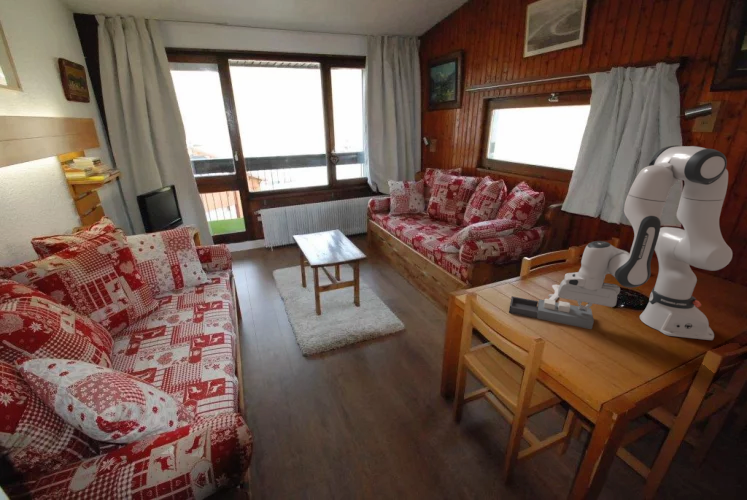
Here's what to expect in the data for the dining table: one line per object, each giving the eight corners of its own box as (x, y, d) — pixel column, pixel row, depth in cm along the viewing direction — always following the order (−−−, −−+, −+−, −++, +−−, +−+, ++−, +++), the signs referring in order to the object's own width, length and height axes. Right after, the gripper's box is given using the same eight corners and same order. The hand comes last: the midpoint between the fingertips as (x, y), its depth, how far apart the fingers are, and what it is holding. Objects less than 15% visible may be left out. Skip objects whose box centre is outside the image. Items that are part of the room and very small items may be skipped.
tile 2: (568, 307, 141) (569, 302, 140) (569, 312, 137) (570, 307, 136) (557, 305, 142) (558, 300, 141) (558, 310, 139) (559, 305, 138)
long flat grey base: (588, 316, 141) (590, 308, 140) (591, 329, 133) (593, 321, 131) (537, 306, 149) (538, 299, 148) (537, 318, 141) (538, 310, 140)
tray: (536, 306, 149) (537, 301, 148) (536, 318, 141) (537, 312, 140) (510, 301, 154) (511, 296, 153) (508, 312, 146) (509, 306, 145)
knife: (555, 278, 173) (571, 283, 167) (555, 281, 173) (571, 286, 168) (532, 298, 153) (550, 304, 148) (531, 301, 154) (549, 307, 149)
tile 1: (554, 305, 143) (555, 300, 142) (554, 309, 140) (555, 304, 139) (543, 303, 144) (544, 298, 144) (543, 307, 141) (544, 302, 140)
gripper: (619, 281, 129) (611, 311, 135) (561, 273, 138) (555, 301, 143) (623, 289, 124) (614, 319, 129) (561, 279, 133) (555, 308, 138)
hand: (582, 310), depth 136 cm, fingers closed
